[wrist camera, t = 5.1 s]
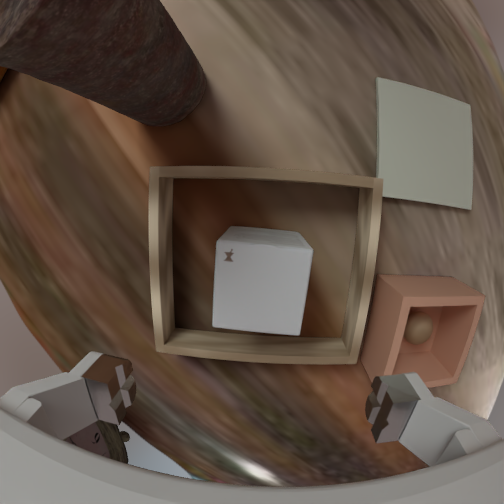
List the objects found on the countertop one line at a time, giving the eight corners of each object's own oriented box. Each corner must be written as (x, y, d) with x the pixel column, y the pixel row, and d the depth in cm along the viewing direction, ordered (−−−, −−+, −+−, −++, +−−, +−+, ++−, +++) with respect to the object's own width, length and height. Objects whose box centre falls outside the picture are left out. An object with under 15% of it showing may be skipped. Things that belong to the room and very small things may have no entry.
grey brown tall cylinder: (215, 120, 23) (85, -29, 3) (137, 141, 24) (-59, 94, 4) (202, 48, 22) (110, -113, 2) (129, 71, 22) (-18, -26, 3)
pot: (376, 274, 25) (403, 296, 19) (451, 276, 25) (485, 295, 19) (359, 358, 27) (377, 394, 21) (431, 354, 26) (456, 382, 21)
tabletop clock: (141, 443, 32) (77, 583, 7) (89, 430, 32) (14, 545, 8) (112, 360, 29) (-16, 523, 4) (56, 349, 29) (-69, 466, 5)
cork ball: (400, 306, 25) (414, 319, 22) (427, 305, 25) (442, 318, 22) (393, 336, 26) (405, 351, 22) (419, 334, 25) (433, 349, 22)
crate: (165, 169, 24) (149, 166, 21) (368, 179, 23) (383, 178, 20) (168, 333, 27) (156, 351, 24) (347, 344, 27) (356, 363, 23)
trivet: (375, 79, 21) (377, 77, 21) (467, 105, 21) (470, 104, 20) (374, 195, 24) (377, 195, 23) (467, 209, 23) (471, 209, 23)
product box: (224, 291, 26) (209, 328, 19) (229, 223, 25) (214, 237, 18) (292, 299, 26) (300, 337, 19) (301, 231, 25) (315, 248, 18)
